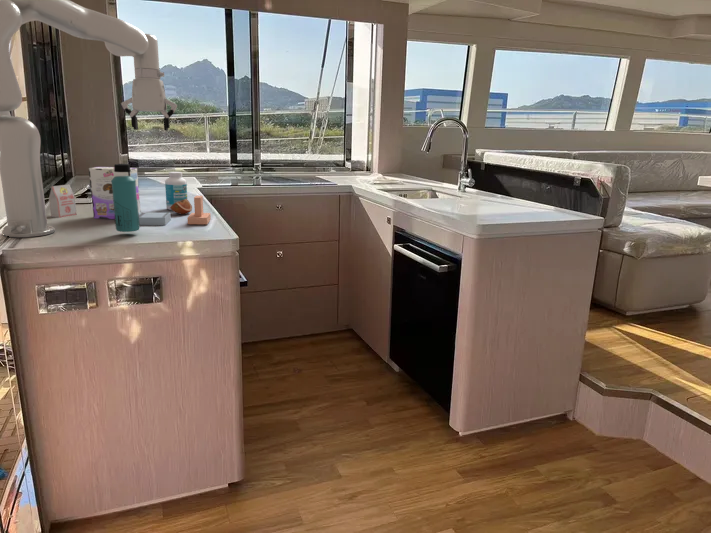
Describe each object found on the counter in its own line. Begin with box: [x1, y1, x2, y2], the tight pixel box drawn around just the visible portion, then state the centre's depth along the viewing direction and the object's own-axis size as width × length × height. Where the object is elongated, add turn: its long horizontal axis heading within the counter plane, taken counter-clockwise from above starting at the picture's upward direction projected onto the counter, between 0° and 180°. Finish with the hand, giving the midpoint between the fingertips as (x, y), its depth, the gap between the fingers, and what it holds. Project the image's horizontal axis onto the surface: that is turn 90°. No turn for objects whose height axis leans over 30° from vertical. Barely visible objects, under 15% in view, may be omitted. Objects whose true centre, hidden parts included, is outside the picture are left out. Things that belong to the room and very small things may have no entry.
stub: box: [186, 195, 212, 225], centre depth 172 cm, size 9×6×8 cm, turn 8°
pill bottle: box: [164, 171, 188, 211], centre depth 195 cm, size 8×7×14 cm
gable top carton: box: [48, 184, 78, 219], centre depth 177 cm, size 4×7×10 cm, turn 158°
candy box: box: [87, 166, 142, 220], centre depth 175 cm, size 14×6×16 cm, turn 84°
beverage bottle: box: [111, 163, 141, 233], centre depth 150 cm, size 6×7×20 cm
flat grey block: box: [139, 212, 172, 226], centre depth 171 cm, size 9×11×2 cm
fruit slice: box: [170, 198, 193, 215], centre depth 187 cm, size 8×7×5 cm
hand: (151, 130), depth 178 cm, fingers open, 9 cm apart
